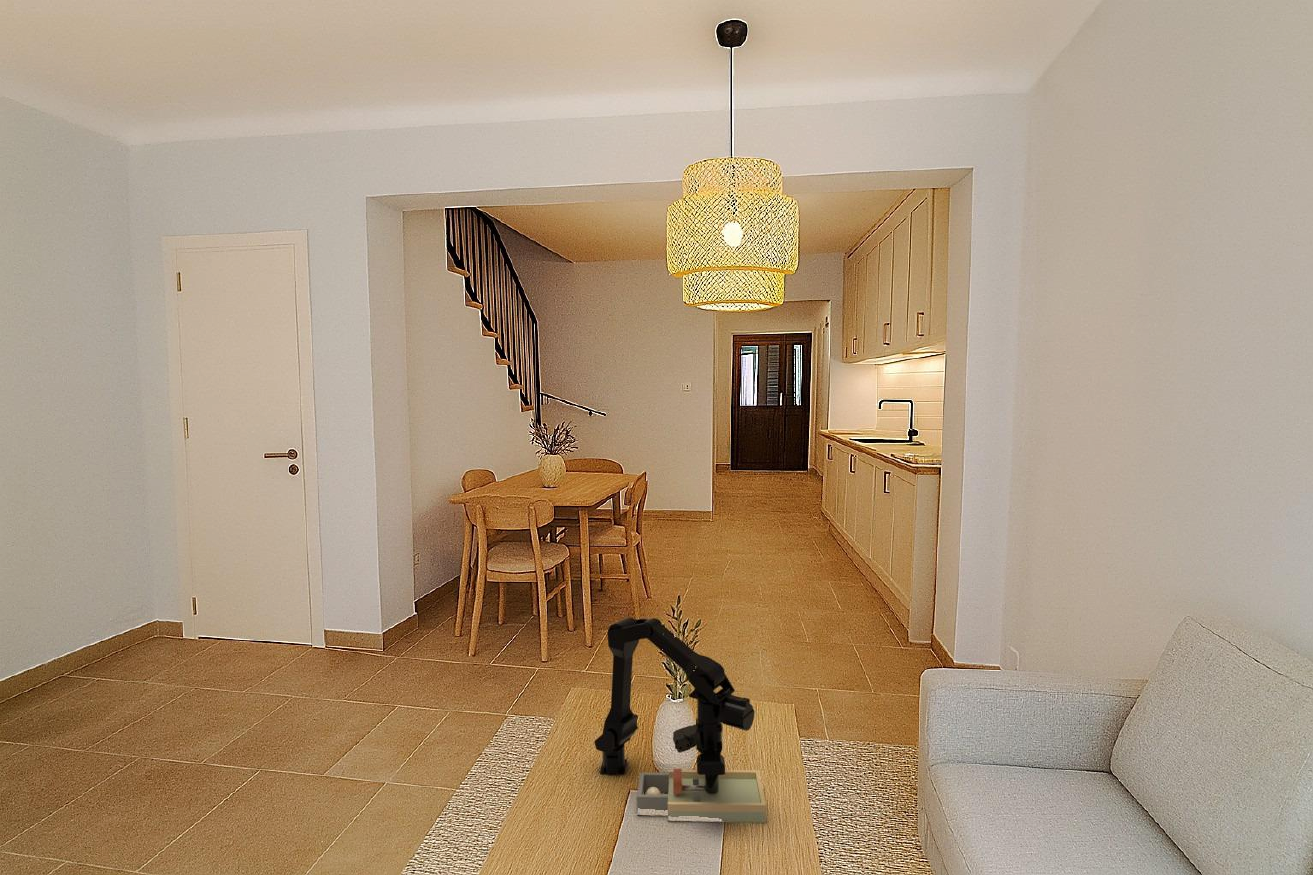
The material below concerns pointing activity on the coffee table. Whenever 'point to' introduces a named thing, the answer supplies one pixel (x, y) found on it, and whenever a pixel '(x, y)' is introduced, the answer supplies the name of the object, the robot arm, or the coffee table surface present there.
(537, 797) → the coffee table surface
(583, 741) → the coffee table surface
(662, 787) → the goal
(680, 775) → the kicker
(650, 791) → the ball
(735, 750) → the coffee table surface
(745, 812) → the tray
